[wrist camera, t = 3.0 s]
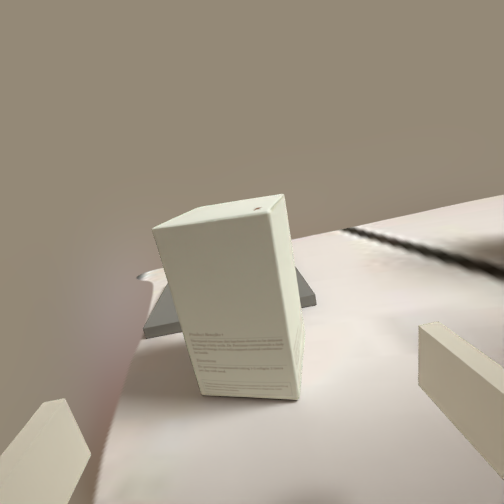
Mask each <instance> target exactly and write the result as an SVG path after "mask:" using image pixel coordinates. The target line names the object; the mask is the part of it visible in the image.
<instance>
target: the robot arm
mask: <svg viewBox="0 0 504 504" xmlns="http://www.w3.org/2000/svg"><path fill="white" fill-rule="evenodd" d="M418 385H419V386H420V387H421V388H422V390H423V391H424V392H425V393H426V394H427V395H428V396H429V397H430V398H431V400H432V401H433V402H434V403H435V404H436V405H437V406H438V407H439V409H440V410H441V411H442V412H443V413H444V414H445V415H446V416H447V417H448V419H449V420H450V421H451V422H452V423H453V424H454V425H455V426H456V427H457V429H458V430H459V431H460V432H461V433H462V434H463V435H464V436H465V438H466V439H467V440H468V441H469V442H470V443H471V444H472V445H473V446H474V448H475V449H476V450H477V451H478V452H479V453H480V454H481V455H482V457H483V458H484V459H485V460H486V461H487V462H488V463H489V464H490V465H491V467H492V468H493V469H494V470H495V471H496V472H497V473H498V474H499V476H500V477H501V478H502V479H503V480H504V368H503V367H502V366H500V365H499V364H498V363H496V362H495V361H493V360H492V359H491V358H489V357H488V356H486V355H485V354H483V353H482V352H481V351H479V350H478V349H476V348H475V347H474V346H472V345H471V344H469V343H468V342H467V341H465V340H464V339H462V338H461V337H460V336H458V335H457V334H455V333H454V332H452V331H451V330H450V329H448V328H447V327H445V326H444V325H443V324H441V323H440V322H433V323H428V324H423V325H419V348H418ZM90 456H91V453H90V451H89V448H88V446H87V444H86V442H85V440H84V438H83V436H82V434H81V431H80V429H79V427H78V425H77V423H76V421H75V419H74V417H73V414H72V412H71V410H70V408H69V406H68V404H67V401H66V399H65V398H63V399H58V400H53V401H49V402H44V403H43V404H42V405H41V406H40V407H39V409H38V410H37V411H36V412H35V414H34V415H33V416H32V418H31V419H30V420H29V421H28V422H27V424H26V425H25V426H24V427H23V429H22V430H21V431H20V433H19V434H18V435H17V436H16V438H15V439H14V440H13V441H12V442H11V444H10V445H9V446H8V448H7V449H6V450H5V451H4V453H3V454H2V455H1V456H0V504H68V502H69V499H70V497H71V495H72V493H73V491H74V489H75V487H76V485H77V483H78V481H79V479H80V477H81V475H82V472H83V470H84V468H85V466H86V464H87V462H88V460H89V458H90Z"/></svg>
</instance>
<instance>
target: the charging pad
mask: <svg viewBox="0 0 504 504" xmlns="http://www.w3.org/2000/svg"><path fill="white" fill-rule="evenodd" d="M295 270H296V277H297V284H298V290H299V297H300V304H301V308H303V307H308V306H313V305H316V297H315V294H314V292H313V291H312V289H311V288H310V287H309V285H308V284H307V282H306V281H305V279H304V278H303V277H302V275H301V274H300V272H299V271H298V270H297V268H296V267H295ZM143 330H144V333H145V336H146V339H147V338H152V337H157V336H162V335H167V334H172V333H177V332H182V329H181V325H180V322H179V319H178V315H177V312H176V308H175V305H174V302H173V298H172V295H171V291H170V288H169V284H167V285H166V287H165V289H164V291H163V293H162V295H161V296H160V298H159V300H158V302H157V304H156V306H155V308H154V309H153V311H152V313H151V315H150V317H149V319H148V320H147V322H146V324H145V326H144V328H143Z"/></svg>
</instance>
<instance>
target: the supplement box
mask: <svg viewBox="0 0 504 504" xmlns="http://www.w3.org/2000/svg"><path fill="white" fill-rule="evenodd" d="M152 233H153V236H154V239H155V241H156V245H157V248H158V251H159V254H160V258H161V261H162V264H163V268H164V271H165V274H166V278H167V281H168V284H169V288H170V291H171V295H172V298H173V302H174V305H175V308H176V312H177V315H178V319H179V322H180V325H181V329H182V332H183V335H184V339H185V342H186V345H187V349H188V352H189V356H190V359H191V362H192V365H193V368H194V372H195V375H196V378H197V382H198V385H199V388H200V392H201V394H202V395H212V396H234V397H255V398H273V399H292V400H298V399H299V397H300V386H301V374H302V364H303V354H304V344H305V330H304V324H303V317H302V311H301V304H300V297H299V290H298V284H297V277H296V270H295V263H294V256H293V250H292V243H291V236H290V230H289V223H288V217H287V211H286V204H285V198H284V194H278V195H273V196H266V197H259V198H253V199H246V200H240V201H233V202H228V203H221V204H216V205H209V206H202V207H198V208H196V209H193V210H191V211H189V212H187V213H184V214H182V215H180V216H178V217H175V218H173V219H171V220H169V221H167V222H165V223H163V224H160V225H158V226H156V227H154V228H152Z"/></svg>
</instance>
